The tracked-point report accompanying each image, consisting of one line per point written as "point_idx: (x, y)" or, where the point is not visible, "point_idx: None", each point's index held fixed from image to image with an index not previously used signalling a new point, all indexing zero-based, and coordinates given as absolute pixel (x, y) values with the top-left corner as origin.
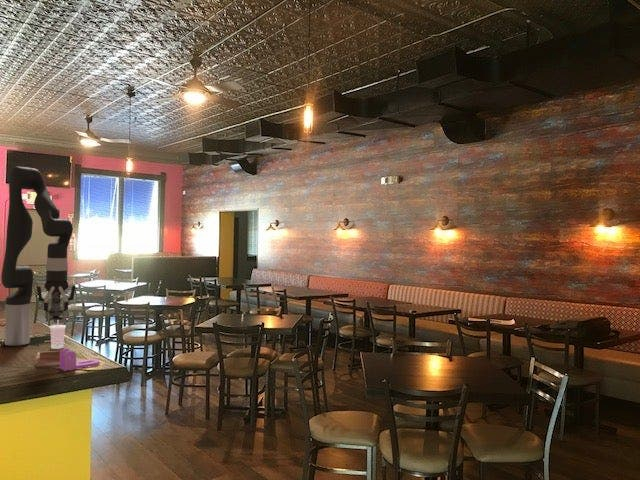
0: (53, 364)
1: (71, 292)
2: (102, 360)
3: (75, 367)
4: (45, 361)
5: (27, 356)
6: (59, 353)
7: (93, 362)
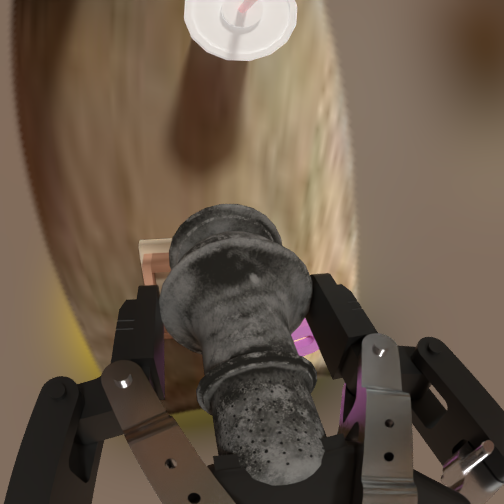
0: None
1: (433, 447)
2: None
3: None
4: None
5: (99, 175)
6: None
7: (309, 349)
